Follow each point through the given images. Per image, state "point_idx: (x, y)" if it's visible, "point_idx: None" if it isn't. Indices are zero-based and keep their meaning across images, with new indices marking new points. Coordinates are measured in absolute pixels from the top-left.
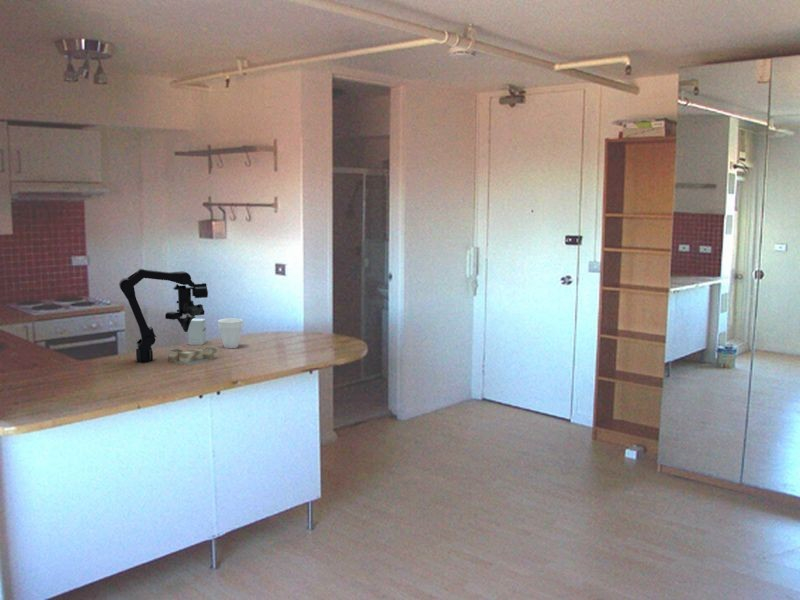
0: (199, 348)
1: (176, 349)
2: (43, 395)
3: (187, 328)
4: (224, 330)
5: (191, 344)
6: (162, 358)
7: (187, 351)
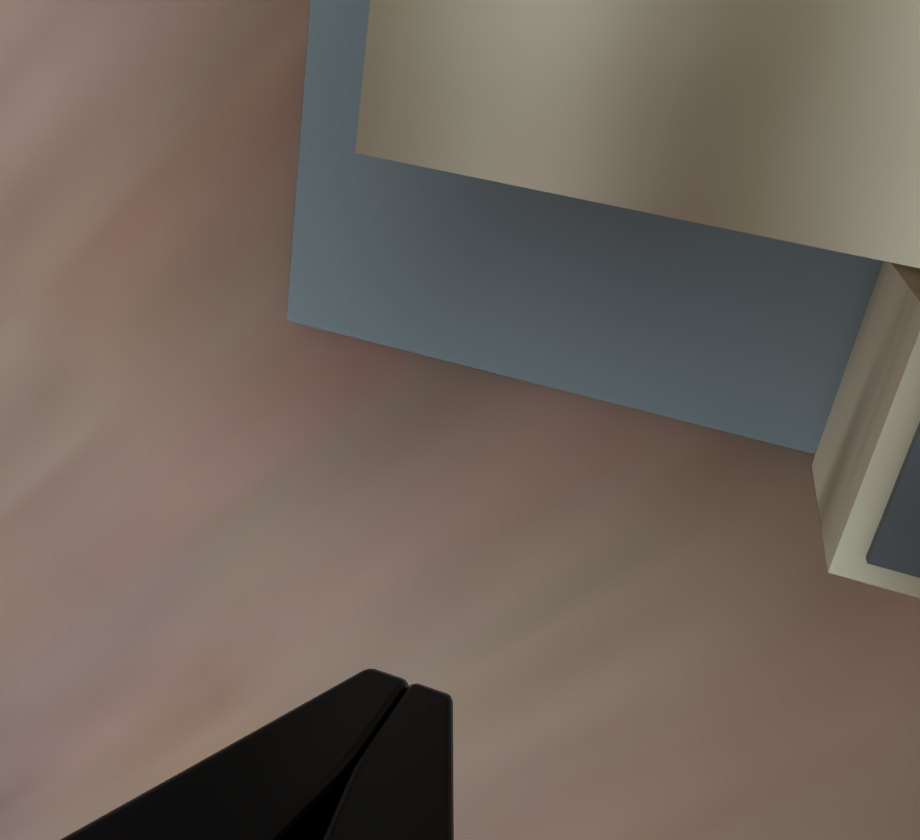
0: (384, 124)
1: (917, 536)
2: None
3: (306, 764)
4: None
5: None
6: (802, 756)
7: (882, 176)
